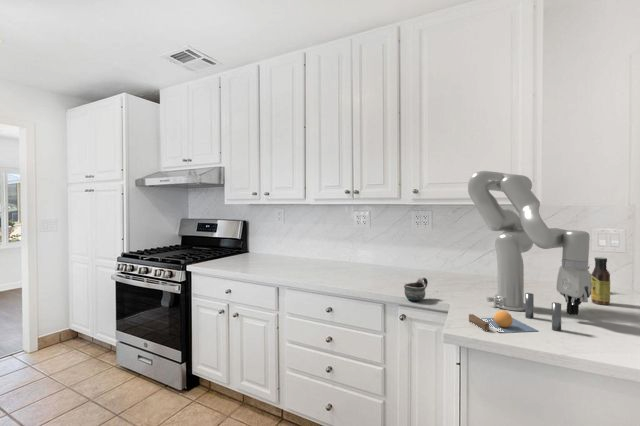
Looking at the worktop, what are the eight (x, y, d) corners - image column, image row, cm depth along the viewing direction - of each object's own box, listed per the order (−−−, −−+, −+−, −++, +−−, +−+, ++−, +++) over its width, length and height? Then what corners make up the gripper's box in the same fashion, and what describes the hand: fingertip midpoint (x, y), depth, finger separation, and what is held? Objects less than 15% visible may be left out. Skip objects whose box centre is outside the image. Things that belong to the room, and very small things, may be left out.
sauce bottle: (591, 300, 145) (591, 256, 144) (609, 303, 141) (609, 257, 140) (591, 303, 139) (591, 257, 139) (610, 306, 135) (610, 259, 135)
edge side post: (556, 331, 109) (556, 304, 109) (549, 328, 111) (549, 302, 111) (563, 331, 109) (563, 304, 109) (557, 328, 112) (557, 302, 112)
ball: (499, 315, 110) (513, 310, 111) (488, 311, 116) (502, 307, 117) (503, 331, 110) (518, 326, 111) (493, 327, 116) (507, 322, 116)
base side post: (528, 318, 122) (528, 294, 121) (523, 316, 124) (523, 293, 124) (535, 318, 122) (535, 294, 122) (530, 316, 124) (530, 292, 124)
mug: (399, 300, 148) (399, 278, 148) (414, 295, 157) (414, 274, 156) (418, 304, 141) (418, 281, 141) (433, 299, 149) (433, 277, 149)
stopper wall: (484, 331, 110) (484, 323, 110) (468, 321, 120) (468, 314, 120) (488, 331, 110) (488, 323, 110) (472, 320, 120) (472, 314, 120)
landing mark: (499, 333, 108) (499, 332, 108) (475, 318, 122) (475, 318, 122) (538, 331, 109) (538, 330, 109) (510, 317, 123) (510, 317, 123)
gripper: (548, 260, 125) (546, 307, 126) (583, 269, 110) (580, 322, 111) (567, 260, 125) (564, 307, 126) (603, 269, 111) (601, 321, 111)
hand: (572, 314), depth 119 cm, fingers closed
